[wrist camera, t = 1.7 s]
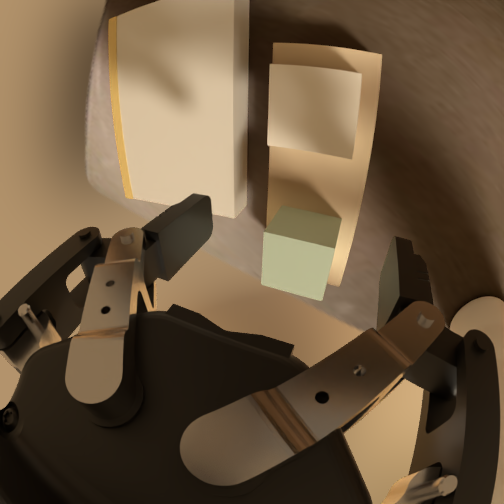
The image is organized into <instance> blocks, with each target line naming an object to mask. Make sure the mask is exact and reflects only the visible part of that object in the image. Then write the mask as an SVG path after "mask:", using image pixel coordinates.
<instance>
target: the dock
mask: <svg viewBox="0 0 504 504" xmlns="http://www.w3.org/2000/svg"><path fill="white" fill-rule="evenodd" d="M249 4H250V0H159V1H156V2H153V3H150V4H147V5H144V6H142V7H139V8H136V9H134V10H131V11H128V12H126V13H124V14H121V15H119V16H116V17H113V18H111V19H109V30H108V47H109V76H110V91H111V103H112V113H113V122H114V130H115V137H116V145H117V151H118V158H119V164H120V169H121V175H122V180H123V186H124V191H125V196H126V198H130V199H139V200H144V201H149V202H155V203H160V204H165V205H171V206H172V205H175V204H177V203H180V202H181V201H183V200H184V199H186V198H187V197H188V196H190V195H191V194H193V193H196V194H202V195H208V196H209V197H210V198H211V205H212V214H216V215H220V216H225V217H230V218H235V217H236V216H237V215H238V214H239V213H240V212H241V211H242V210H243V209H244V208H245V207H246V206H247V145H248V63H249Z"/></svg>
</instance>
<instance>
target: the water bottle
mask: <svg viewBox="0 0 504 504" xmlns="http://www.w3.org/2000/svg"><path fill="white" fill-rule="evenodd" d="M472 329H476V330H480V331H482V332H483V333H485V334H486V335H487V336H488V337H489V338H490V339H491V341H492V343H493V345H494V348H495V354H496V361H497V369H498V379H499V392H500V445H499V458H498V467H497V474H496V481H495V487H494V492H493V497H492V502H491V504H504V302H503V301H502V300H501V299H499V298H496V297H492V296H486V297H480V298H477V299H475V300H472V301H471V302H469V303H467V304H466V305H464V306H463V307H462V308H461V309H460V310H459V311H458V312H457V313H456V315H455V316H454V318H453V320H452V322H451V325H450V330H451V331H453V332H454V333H456V334H458V335H460V336H462V337H464V336H465V334H466V333H467V332H468V331H469V330H472Z"/></svg>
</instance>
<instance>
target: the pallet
mask: <svg viewBox="0 0 504 504" xmlns="http://www.w3.org/2000/svg"><path fill="white" fill-rule="evenodd" d="M273 64H283V65H299V66H311V67H320V68H329V69H336V70H343V71H349V72H355V73H361V74H362V84H361V95H360V105H359V114H358V123H357V131H356V138H355V145H354V151H353V156H352V160H351V159H346V158H341V157H336V156H331V155H326V154H320V153H315V152H309V151H303V150H297V149H290V148H283V147H276V146H270V155H269V179H268V201H267V222H266V228H267V226H268V225H269V224H270V222H271V221H272V219H273V218H274V216H275V215H276V213H277V212H278V210H279V209H280V208H281V206H282V205H283V206H287V207H292V208H297V209H302V210H306V211H311V212H315V213H320V214H324V215H329V216H333V217H337V218H342V221H341V226H340V230H339V235H338V239H337V244H336V248H335V253H334V257H333V261H332V265H331V269H330V273H329V277H328V281H327V284H331V285H335V286H339V287H340V283H341V280H342V276H343V273H344V269H345V266H346V262H347V259H348V255H349V251H350V248H351V244H352V240H353V236H354V232H355V228H356V224H357V220H358V215H359V211H360V206H361V202H362V197H363V192H364V188H365V183H366V178H367V172H368V167H369V161H370V156H371V150H372V143H373V137H374V130H375V123H376V115H377V107H378V98H379V88H380V77H381V64H382V55H381V54H376V53H371V52H366V51H360V50H354V49H348V48H341V47H333V46H324V45H313V44H298V43H273Z"/></svg>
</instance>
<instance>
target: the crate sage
mask: <svg viewBox="0 0 504 504" xmlns="http://www.w3.org/2000/svg"><path fill="white" fill-rule="evenodd" d="M341 221H342V218H337V217H333V216H329V215H324V214H320V213H315V212H311V211H306V210H302V209H297V208H292V207H287V206H283V205H282V206H281V208H280V209H279V210H278V212H277V213H276V215H275V216H274V218H273V219H272V221H271V222H270V224H269V225H268V226H267V228H266V229H265V231H264V239H263V260H262V280H261V284H262V285H265V286H268V287H272V288H275V289H279V290H282V291H286V292H290V293H293V294H297V295H301V296H305V297H308V298H312V299H316V300H320V301H322V299H323V295H324V292H325V288H326V284H327V281H328V277H329V273H330V269H331V265H332V261H333V257H334V253H335V248H336V244H337V239H338V235H339V230H340V226H341Z"/></svg>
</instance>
